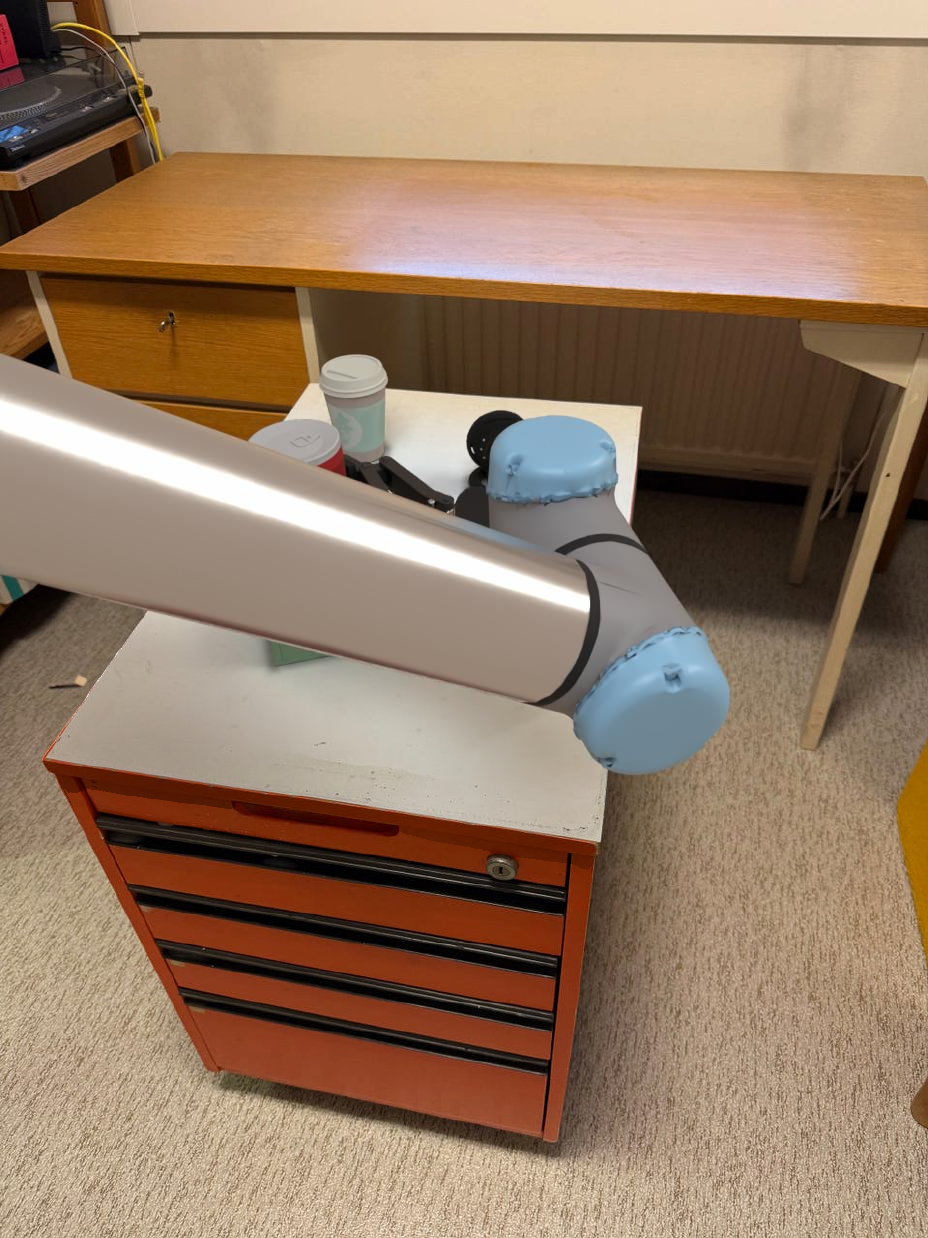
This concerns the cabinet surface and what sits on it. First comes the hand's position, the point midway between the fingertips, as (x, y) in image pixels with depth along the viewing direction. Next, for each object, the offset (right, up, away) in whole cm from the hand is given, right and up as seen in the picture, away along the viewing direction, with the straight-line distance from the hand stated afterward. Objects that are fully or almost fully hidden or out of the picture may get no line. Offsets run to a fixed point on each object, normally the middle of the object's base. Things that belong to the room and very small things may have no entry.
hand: (269, 472), depth 79 cm
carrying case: (+21, -4, +22) cm, 30 cm away
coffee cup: (+4, +9, +38) cm, 39 cm away
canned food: (+4, -7, +1) cm, 8 cm away
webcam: (+22, +3, +31) cm, 38 cm away
